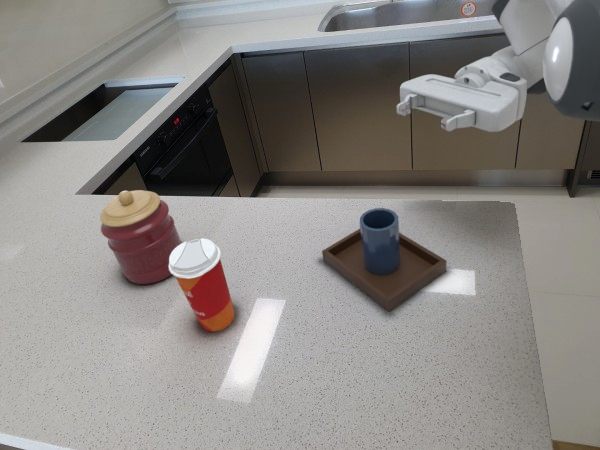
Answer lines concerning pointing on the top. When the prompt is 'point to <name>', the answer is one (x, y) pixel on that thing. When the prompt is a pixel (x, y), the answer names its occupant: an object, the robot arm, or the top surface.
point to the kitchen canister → (140, 235)
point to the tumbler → (380, 241)
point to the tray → (393, 287)
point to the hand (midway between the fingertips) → (421, 118)
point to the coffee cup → (203, 282)
